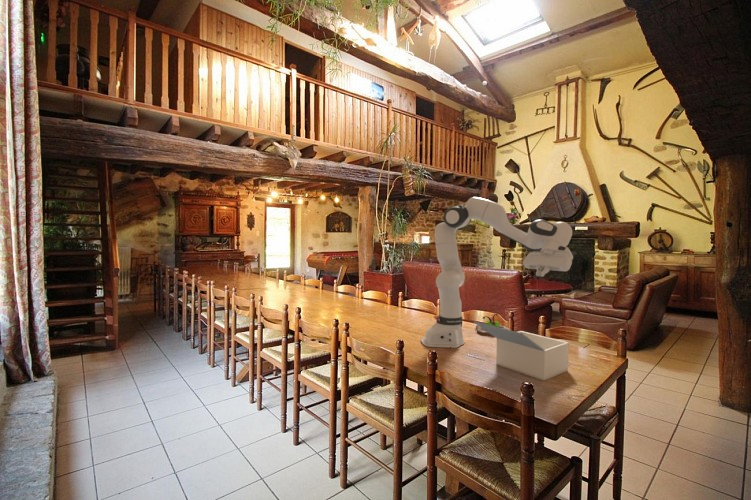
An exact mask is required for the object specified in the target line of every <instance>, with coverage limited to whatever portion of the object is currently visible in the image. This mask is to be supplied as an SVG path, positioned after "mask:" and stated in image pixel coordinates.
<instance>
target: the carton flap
mask: <svg viewBox="0 0 751 500" xmlns="http://www.w3.org/2000/svg"><path fill="white" fill-rule="evenodd" d="M473 323H474V324H475V325H478V326H480V327H481V328H483V329H484V330H485V331H487V332H488V333H490V334H491V335H493V336H494V337H493V338H496V339H497V338H498V339H502V340H505V341H509V342H512V343H516V344H520V345H523V346H527V347H530V348H534V349H537V350H541V351H545V350H544V349H542V348H541V347H540V346H538V345H537V344H536V343H534V342H533V341H532V340H530V339H529V338H528V337H527V336H525V335H524V334H523V333H519V331H516V330H507V329H503V328H499V327H495V326H491V325H487V323H486V324H485V323H483V322H479V321H476V320H475V321H473Z"/></svg>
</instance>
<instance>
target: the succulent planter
mask: <svg viewBox="0 0 751 500" xmlns="http://www.w3.org/2000/svg"><path fill="white" fill-rule="evenodd" d="M495 317H496V318H498V317H500V314H499V313H494V314H493V316H492V318H491V317H489V316H487V315H484V316H483V317H482V320H485V319H486V318H488V320H486V322H484V324H487V325H491V326H495V327H499V328H503V329H507V330H511V328H510V327H508V326H505V325H502V323H500V321H497V320H495ZM475 330H476V334H478V335H480V336H482V335H483V336H484V337H485V336H487V337H492V338H495V337H494V336H493V335H491V334H490V333H488V332H487V331H485V330H484V329H483V328H481V327H480V326H478V325H477V324H475ZM511 331H512V330H511Z"/></svg>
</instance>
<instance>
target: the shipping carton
mask: <svg viewBox="0 0 751 500" xmlns="http://www.w3.org/2000/svg"><path fill="white" fill-rule="evenodd" d="M518 332H519V333H523V334H524V335H525V336H527V337H528V338H529V339H530V340H532V341H533V342H534V343H536V344H537V345H538V346H540V347H541V348H542V349H544V350H545V351H541V350H537V349H534V348H530V347H527V346H523V345H520V344H516V343H512V342H509V341H505V340H502V339H498V338H496V366H500V367H503V368H506V369H508V370H511V371H514V372H517V373H520V374H522V375H526V376H529V377H532V378H533V379H537V380H540V381H543V382H545V381H548V380H550V379H552V378H555V377H556V376H559V375H561V374H564V373H566V372H568V371H569V370H568V368H569V367H568V366H569V365H568V364H569V358H570V357H569V354H570V353H569V350H570V342H568V341H564V340H560V339H556V338H552V337H547V336H544V335H540V334H535V333H531V332H527V331H524V330H519V331H518Z"/></svg>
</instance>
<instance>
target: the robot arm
mask: <svg viewBox="0 0 751 500" xmlns="http://www.w3.org/2000/svg"><path fill="white" fill-rule="evenodd" d="M473 219H474V220H477V221H480V222H482V223H484V224H487V225H489V226H490V227H491V228H493V229H494V230H495V231H496V232H498V233H499V234H500V235H503V236H504V237H506V238H508V239H510V240H512V241H514V242H516V243H518V244H519V245H521V246H522V247H524V249H526V250H527V251H529V253H528V254H527V255H526V256H525V258H524V259H523V260H522V266H524V268H525V269H529V270H530V269H532V270H536V272H535V276H537V277H545V275H546V274H548V273H550V271H554V272H555V271H556V272H557V271H558V272H568V271H569V270H570V269H571V266H572V264H573V259H574V255H573V253H572V251H571V250H570V248H569V247H568V245H569V243H570V241H571V238H572V236H573V229H572V227H571V225H570V224H568V222H567V223H566V222H565V221H558V222H551V221H548V220H545V219H535V220H533V221H531V223H530V224H529V228H528V230H527V232H525V231H523V230H522V229H519V228H517V227H515V226H514V225H512V223H511V222H510V221H509V219H508V215H507V211H506V209H505V208H504V206H502V205H501V204H500V203H498V202H495V201H492V200H489V199H486V198H482V197H478V196H473V197H469V199H467V201H466V202H465V205H462V204H461V205H456V206H451V207H449V208H448V209H446V210H445V211H444V214H443V221H444V222H443V221H442V222H440V223H438V224H436V226H435V229H434V243H435V251H436V259H437V261H438V263H439V265H440V268H441V272H440V273H438V274H437V276H436V279H435V286H436V287H437V289H438V290H437V291H438V295H439V296H438V297H439V315H436V314H435V315H434V316H433V318H434V320H436V322H435V323H433V324H432V325H431V326H430V327H428V328H427V329H426V331H425V336H424V337H422V338H421V339H420V341H421V343H422V344H423V345H424V346H425V347H427V348H450V347H451V349H452V348H454V349H457V348H459V347H460V346H462V345H463V346H464V344H465V340H464V337H463V336H464V335H463V328H462V327H463V316H462V300H461V294H460V287H462V286H463V285H464V282H465V281H466V280H465V279H466V276H465V273H464V271H463V270H464V269H463V268H462V264H461V260H460V257H459V251H458V244H457V237H456V236H457V235H456V232H457V231H460V230H462V229H465V228H466V227H467V226H468V225H470V223H471V222H472V220H473Z"/></svg>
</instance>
